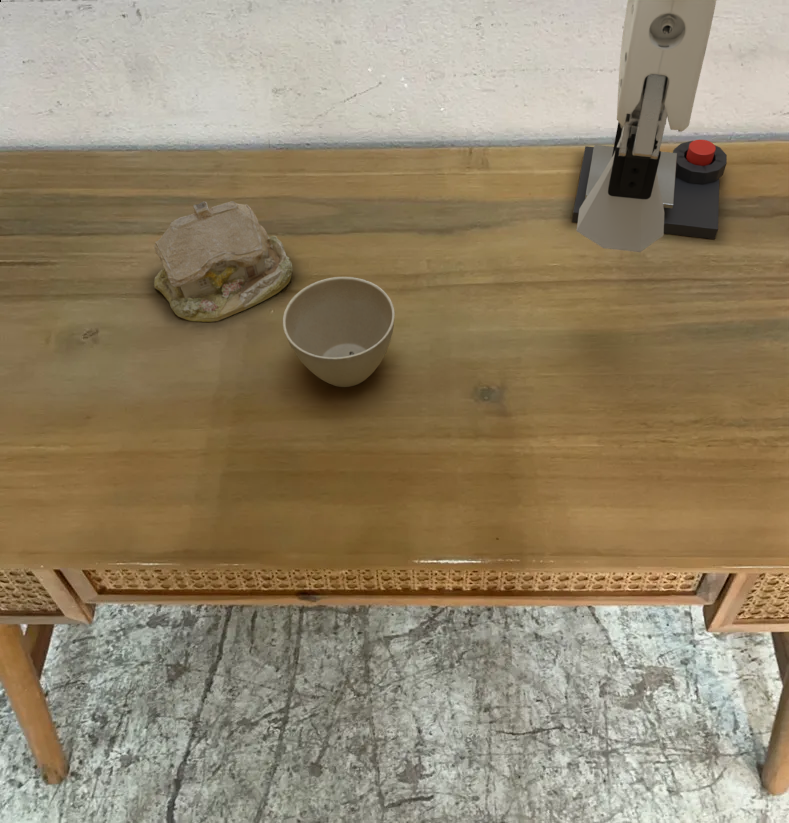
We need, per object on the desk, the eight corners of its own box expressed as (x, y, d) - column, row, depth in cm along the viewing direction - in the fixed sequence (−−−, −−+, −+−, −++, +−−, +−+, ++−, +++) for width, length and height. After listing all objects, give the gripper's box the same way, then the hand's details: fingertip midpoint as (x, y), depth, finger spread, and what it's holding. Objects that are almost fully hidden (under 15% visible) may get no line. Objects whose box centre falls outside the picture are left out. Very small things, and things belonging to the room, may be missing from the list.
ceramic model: (170, 336, 83) (141, 261, 75) (148, 266, 90) (119, 190, 82) (303, 295, 86) (289, 218, 78) (272, 230, 92) (256, 153, 84)
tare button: (712, 152, 93) (716, 140, 91) (711, 168, 91) (715, 156, 90) (686, 150, 93) (689, 138, 92) (685, 165, 92) (688, 153, 90)
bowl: (281, 347, 82) (269, 294, 76) (377, 317, 83) (372, 264, 78) (311, 422, 76) (300, 371, 70) (413, 389, 78) (411, 337, 72)
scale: (720, 166, 95) (727, 143, 93) (718, 240, 88) (725, 217, 85) (584, 151, 98) (587, 129, 96) (571, 222, 91) (575, 200, 88)
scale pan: (676, 156, 92) (677, 152, 92) (672, 208, 87) (673, 204, 86) (593, 148, 94) (594, 144, 93) (585, 198, 88) (585, 194, 88)
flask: (678, 212, 69) (708, 103, 61) (646, 265, 65) (674, 157, 57) (596, 187, 71) (614, 79, 64) (561, 236, 68) (576, 129, 60)
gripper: (752, -2, 45) (677, 256, 59) (744, -125, 54) (681, 123, 69) (610, -10, 46) (571, 244, 61) (627, -129, 56) (590, 115, 70)
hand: (630, 177), depth 65 cm, fingers closed on flask, 3 cm apart
